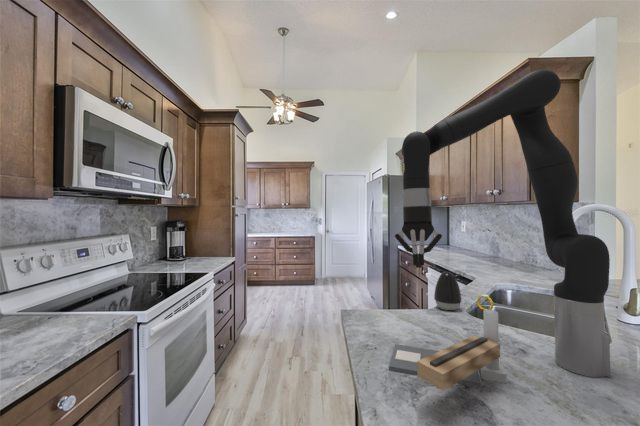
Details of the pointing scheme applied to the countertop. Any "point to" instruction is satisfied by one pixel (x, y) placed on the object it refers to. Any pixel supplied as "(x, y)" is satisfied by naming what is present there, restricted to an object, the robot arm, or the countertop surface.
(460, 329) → the countertop surface
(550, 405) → the countertop surface
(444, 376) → the brown long rectangular block
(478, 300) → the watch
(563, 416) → the countertop surface
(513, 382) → the countertop surface
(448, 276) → the black egg-shaped device
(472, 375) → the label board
